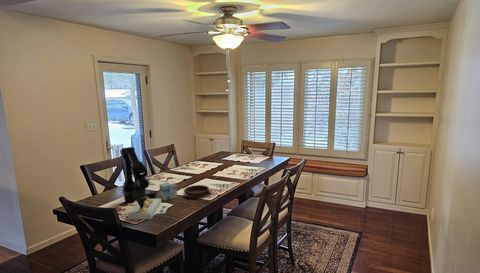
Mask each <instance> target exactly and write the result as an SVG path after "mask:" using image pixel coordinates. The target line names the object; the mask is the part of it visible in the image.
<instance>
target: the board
mask: <svg viewBox="0 0 480 273" xmlns="http://www.w3.org/2000/svg"><path fill="white" fill-rule="evenodd" d="M161 204H162V199H161V198H154V199H152V203H149V207H148V208H146V211H145V212H139V208H140V206H139V204H138V202H137V203H136V205H134V207H133V208H132V209H131V211H129V213H127V220H129V221H130V219H134V220H151V219H153V217H154V215H155V214H156V213H157V212H158V210H159V208H160V207H161Z"/></svg>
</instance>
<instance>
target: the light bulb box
mask: <svg viewBox="0 0 480 273" xmlns="http://www.w3.org/2000/svg"><path fill="white" fill-rule="evenodd" d="M177 187H178V186H177V182H175V181H174V180H170V181H166V182H162V183H159V196H160V198H161V200H163V201H167V200H171V199H175V198H177V197H178V192H177V191H178V188H177ZM160 198H159V199H160Z"/></svg>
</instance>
